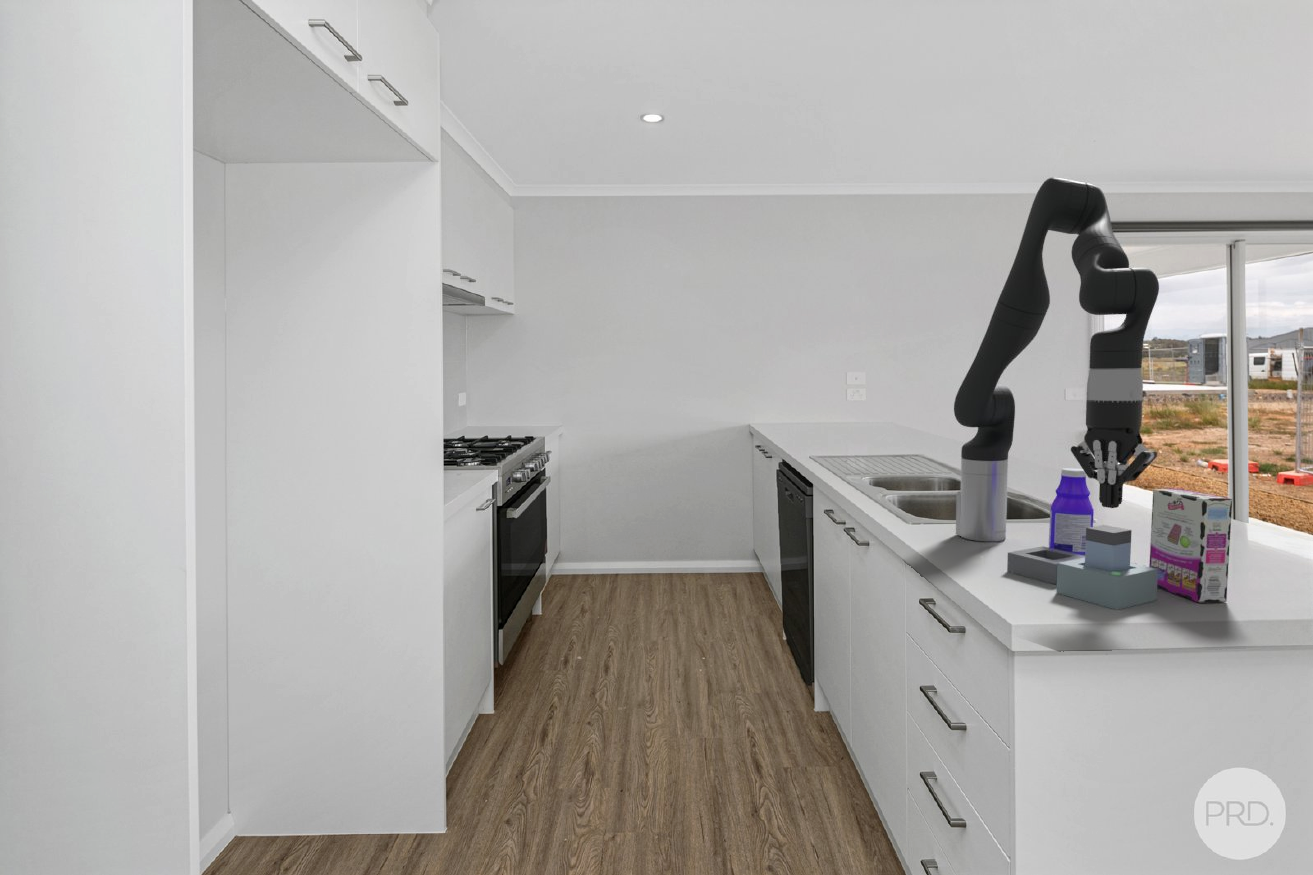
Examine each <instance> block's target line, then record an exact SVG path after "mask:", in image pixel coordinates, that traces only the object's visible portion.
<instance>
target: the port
mask: <svg viewBox="0 0 1313 875" xmlns="http://www.w3.org/2000/svg"><path fill="white" fill-rule="evenodd" d="M1157 580H1158V569H1156V568H1151V567H1149V566H1146V565H1142V564H1137V563H1132V562H1130V569H1129V570H1124V571H1119V572H1115V571H1113V572H1109V571H1104V570H1100V569H1096V568H1092V567H1087V566H1085V558H1080V559H1075V560H1070V561H1065V562H1059V563H1058V564H1057V584H1056V594H1059V595H1063V596H1065V597H1071V598H1072V599H1073V598H1074V599H1077V600H1079V601H1080V600H1082V601H1084V602H1088V603H1090V604H1091V603H1092V604H1094V605H1095V604H1096V605H1099V606H1102V607H1106V608H1110V609H1113V610H1116V611H1117V610H1122V609H1126V608H1129V607H1133V606H1134V607H1135V606H1138V605H1142V604H1147V603H1150V602H1155V601H1157V600H1158V599H1157V597H1158V596H1157V595H1158V587H1157Z"/></svg>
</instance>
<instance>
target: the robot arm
mask: <svg viewBox="0 0 1313 875" xmlns="http://www.w3.org/2000/svg"><path fill="white" fill-rule="evenodd" d="M1049 231H1052V232H1056V233H1057V232H1058V233H1061V234H1062V233H1063V234H1066V235H1077V237H1076V238H1075V240H1074V241H1073V243H1072V246H1071V259H1072V262H1073V264H1074V267H1075V269H1076V270H1077V273H1078V274H1079V278H1080V279H1079V280H1080V285H1079V293H1078V300H1079V304H1080V305H1079V306H1080V307H1081V308H1082V309H1083V311H1084V312H1087V313H1088V314H1091V315H1096V316H1105V315H1107V316H1108V315H1109V316H1110V315H1112V316H1113V315H1125V318H1124V321H1123V322H1122V323H1121V324H1120V325H1119V326H1118V327H1115V328H1110V329H1105V330H1101V331H1098V332H1096V333H1094V334H1093V335H1092V336H1091V339H1090V342H1089V344H1090V345H1089V367H1088V368H1089V371H1088V375H1087V376H1088V378H1087V383H1086V402H1085V403H1086V404H1085V405H1086V406H1085V407H1086V408H1085V426H1086V428H1087V430H1086V433H1085V435H1084V436H1083V437H1084V439H1083V441H1082V442H1081V443H1079V444H1077V445H1072V446H1071V448H1070V452H1071V453H1072V455H1073V456H1074V458H1075V459H1076V461H1077V462H1078V465H1080V467H1081V469H1083V470H1084V472H1085V473H1086V477H1088V478H1089V479H1094V480H1095V481H1097V482H1098V483H1099V492H1098V493H1099V494H1098V497H1099V498H1098V500H1099V502H1100V503H1101V506H1102V507H1103V508H1108V509H1116V508H1119V506H1120V505H1121V504H1122V503H1123V488H1124V484H1126V483H1129V482H1133V481H1136V480H1137V479H1138V478H1139V477H1140V475H1142V473H1143V472H1144V471H1145V470H1146V469H1147V468H1148V467H1149V466H1150V465H1151V464H1152V463H1153V461H1155V459H1156V458H1157V457H1158V452H1157V451H1155V450H1149V448H1148V447H1146V446H1145V445H1144V444H1143V438H1142V436H1141V427H1142V419H1143V418H1142V416H1143V392H1144V380H1143V371H1142V370H1143V369H1142V368H1143V366H1142V363H1143V346H1144V339H1145V335H1146V330H1147V327H1148V324H1149V322H1150V319H1151V318H1150V317H1151V315H1152V314H1153V310H1154V308H1155V304H1156V302H1157V299H1158V295H1159V292H1160V282H1159V280H1158V277H1157V275H1156V273H1154V271H1153V270H1151V269H1149V268H1148V267H1130V262H1129V258H1128V255H1127V254H1126V252H1125V250H1124V249H1123V248H1122V246H1121V244H1120V243H1119V240H1118V239H1117V238H1116V235H1115V234H1114V231H1113V228H1112V222H1111V216H1110V211H1109V209H1108V204H1107V199H1106V197H1105V194H1104V192H1103V190H1102V189H1101V188H1100V187H1099V186H1096V185H1094V184H1091V183H1088V182H1082V181H1078V180H1072V179H1068V178H1067V179H1066V178H1059V177H1049V178H1047V179H1045V181H1043V182H1042V184H1041V186H1040V187H1039V188H1038V190H1037V192H1036V195H1035V197H1034V199H1033V202H1032V205H1031V208H1030V211H1029V214H1028V217H1027V220H1026V224H1025V227H1024V229H1023V233H1022V236H1021V238H1020V239H1021V240H1020V243H1019V246H1018V249H1017V252H1016V256H1015V258H1014V261H1013V264H1012V266H1011V267H1010V271H1009V273H1008V276H1007V279H1006V281H1005V283H1004V284H1003V287H1002V291H1001V292H1000V294H999V297H998V299H997V302H996V305H995V307H994V310H993V312H992V315H991V318H990V321H989V323H988V326H987V328H986V332H985V333H984V337H983V338H982V341H981V343H980V346H979V349H978V350H977V352H976V355H975V358H974V359H973V362H972V363H971V365H970V367H969V369H968V371H967V372H966V375H965V377H964V379H963V380H962V382H961V385H960V387H959V388H958V391H957V393H956V395H955V399H954V403H953V412H954V418H955V419H956V421H957V422H958V424H960V425H961V426H963V427H965V428H977V432H976V434H975V436H974V437H973V438H972V439H970V440H969V441H967V442H965V443H964V444H963V445H962V447H961V454H960V458H961V459H960V460H961V461H960V462H961V463H960V464H961V465H960V490H959V491H957V492H956V502H955V503H956V506H955V507H956V508H955V510H956V511H955V535H956V534H957V536H959V537H960V536H961V538H962V539H965V540H971V541H977V542H1000V541H1001V542H1002V541H1005V540H1006V537H1007V536H1006V534H1007V508H1008V506H1007V503H1008V502H1007V501H1008V477H1009V476H1008V474H1009V472H1008V471H1009V470H1008V468H1009V464H1008V462H1009V460H1008V459H1009V451H1010V450H1011V447H1012V446H1013V441H1014V440H1013V439H1014V429H1015V418H1016V404H1015V403H1016V401H1015V398H1014V394H1013V392H1012V391H1011V389H1010V388H1009V387H1008V386H1007V385H1005V384H1001V383H998V382H999V380H1000V378H1001V377H1002V375H1003V373H1004V371H1005V370H1006V369H1007V367H1009V365H1010V364H1011V363H1012V362H1013V361H1014V360H1015V359H1016V358H1017V357H1018V356H1019V355H1020V354H1021V353H1022V352H1023V351H1024V350H1025V349H1026V348H1027V347H1028V346H1029V345H1030V343H1032V341H1033V340H1034V339H1035V337H1036V336H1037V335H1038V332H1040V328H1041V327H1042V324H1043V322H1044V319H1045V317H1046V315H1047V313H1048V310H1049V307H1050V304H1051V295H1050V289H1049V285H1048V280H1047V276H1046V273H1045V267H1044V262H1043V261H1044V258H1043V251H1044V245H1045V239H1046V237H1047V234H1048V232H1049ZM1131 458H1133V460H1132V462H1131V463H1130V460H1131Z"/></svg>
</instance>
